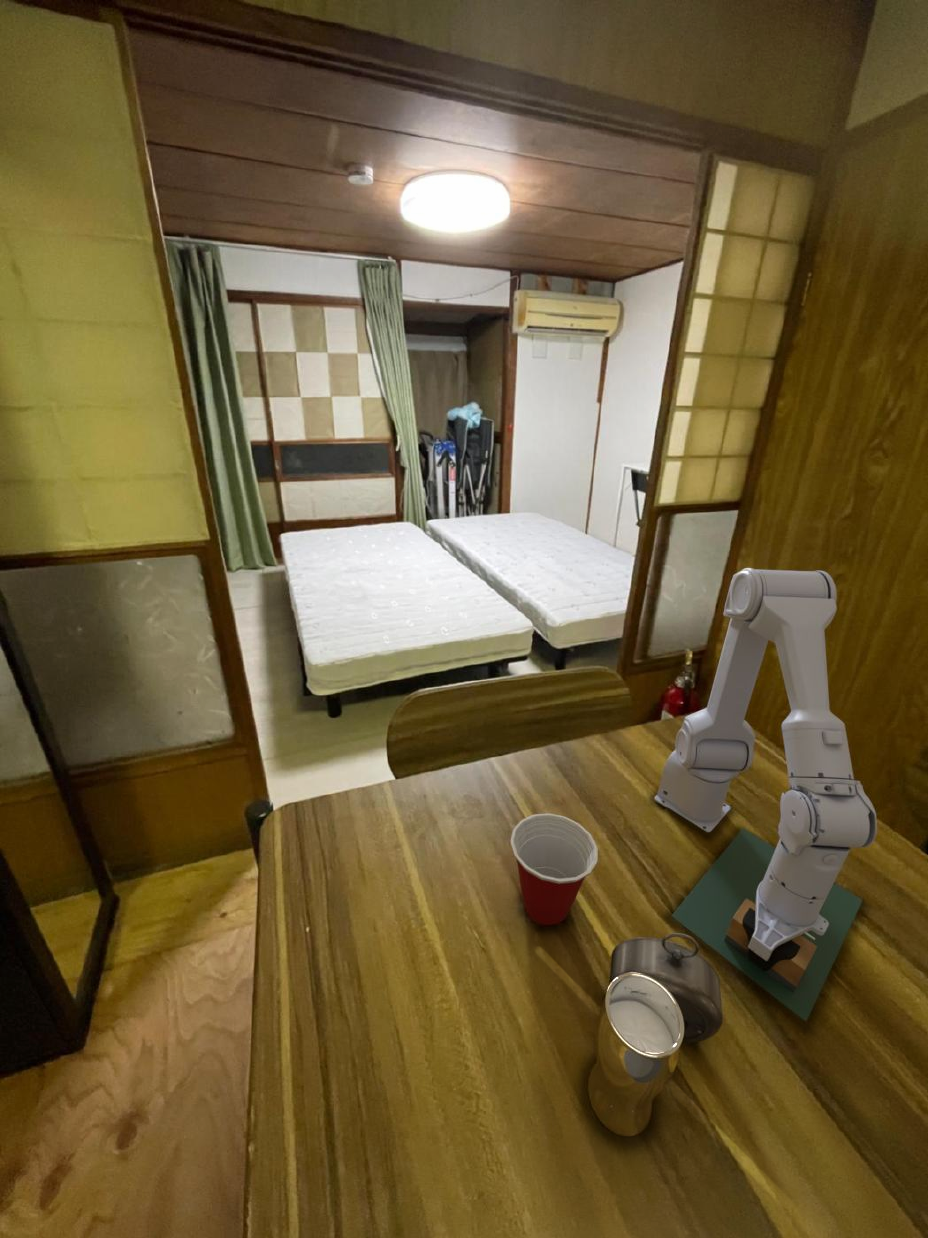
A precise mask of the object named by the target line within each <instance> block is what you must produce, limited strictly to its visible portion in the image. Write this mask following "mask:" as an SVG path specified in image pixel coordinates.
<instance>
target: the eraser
mask: <svg viewBox="0 0 928 1238" xmlns="http://www.w3.org/2000/svg"><path fill="white" fill-rule="evenodd" d="M749 908H751V909H753V910H754V911H756V904H754V903H753V902H752V901H750V900H749V899H747V898H746V899H745V901H744V902H743V904H742V905H741V907H740V908H739V910H738V911H737V912H736V914H735V915H734V917H733V919H732V921H731V924H730V926H729V929H728V932H727V934H726V937H725V939H724V941H726V942H727V943H728V944H730V945H731V946H732V947H733V948H735V949H736V950H737V951H739V952H740V953H741V954H743V955H744V956H745V957H747V958H748V937H747V934H746V931H745V929H744V928H743V926H742V921H743V917H744V915H745V914H746V912H747V911H748V909H749ZM791 940H792V941H794V942H795V943H796V944H798V945H799V946H801V947H800V949H799V951H798V953H797V955H796V956H795V957H794V958H793V959H791V960H781V961H779V962H777V963H776V964H775V965H774V966H773V967H772V968H771V969H769V970H768V971H765V972H766V973H768V974H769V975H770V976H772V977H773V978H774V979H776V980H777V981H778V982H779V983H781V984H782V985H783V986H785V987H786V988H787V989H789V990H790V991H791V992H793V993H794V991H795V989H796V987H797V985H798V983H799V981H800V979H801V977H802V976H803V974H804V972H805V970H806V968H807V966H808V964H809V962H810V960H811V958H812V956H813V954H814V952H815V950H816V948H817V946H816V945H814V944H813V943H811V942H810V941H808V940H807V939H806V938H804V937H803V936H801V935H799V936H797V937H795V938H793V939H791ZM748 959H749V958H748Z"/></svg>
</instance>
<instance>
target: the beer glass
mask: <svg viewBox="0 0 928 1238" xmlns="http://www.w3.org/2000/svg"><path fill="white" fill-rule="evenodd" d="M606 989H607V990H606V993H605V996H604V998H603V1000H602V1003H601V1006H600V1008H599V1009H600V1010H599V1013H598V1016H597V1021H596V1027H595V1054H596V1055H595V1057H596V1063H595V1064H594V1065H593V1066H592V1068H591V1070H590V1073H589V1076H588V1080H587V1092H588V1098H589V1099H588V1100H589V1103H590V1106H591V1107H592V1110H593V1112H594V1114H595V1116H596V1118H597V1120H599V1121H600V1123H601V1124H602V1125H603V1126H604V1127H605V1128H606V1129H608V1130H609V1131H610V1132H612V1133H614V1134H615V1135H619V1136H622V1137H634V1136H637V1135H639V1134H640V1133H642V1132H643V1131H644V1130H645V1129H646V1127H648V1124H649V1122H650V1119H651V1117H652V1116H651V1114H652V1107H653V1105H652V1104H653V1100H654V1099H655V1098H656V1097H657V1096H658V1095H659V1094H660V1093H661V1092H662V1091H663V1090H664V1089H665V1087H666V1086H667V1085H668V1084H669V1082H670V1080H671V1078H672V1076H673V1074H674V1071H676V1067H677V1064H678V1061H679V1057H680V1052H681V1048H682V1044H683V1042H682V1040H683V1037H684V1020H683V1016H682V1012H681V1010H680V1007H679V1005H678V1003H677V1002H676V1000H675V998H674V997H673V995H672V994H671V993H670V992H669V991H668V990H667V988H666V987H664V986H663V985H662V984H661V983H660V982H658V981H657V980H655V979H654V978H652V977H650V976H647V975H645V974H641V973H634V972H631V973H625V974H622V975H620V976H618V977H616V978H615V979H614V980H613V981H612V982H611V984H610V985H609V984H608V987H607V988H606Z"/></svg>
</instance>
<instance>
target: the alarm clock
mask: <svg viewBox="0 0 928 1238" xmlns="http://www.w3.org/2000/svg"><path fill="white" fill-rule="evenodd" d="M676 937H678V938H683V939H687V940H689V941H690V942H692V944H694V946H695V950H693V949H691V948H689V947H687V946H685V945H683V944H680V943H677V942H674V941H671V940H668V939H671V938H676ZM699 952H700V945H699V943H698V941H697V940H696V939H695V938H694V937H692V936H691V935H688V934H686V933H681V932H671V933H667V934H666V935H664V936H663V937H662V938H657V937H648V936H647V937H646V936H645V937H640V936H639V937H633V938H632V937H631V938H629V939H626V940H623V941H621V942H620V943H619V944H617V945H616V946H615V947H614V949H613V950H612V952H611V955H610V968H609V969H610V971H609V980H608V981H609V982H608V986H609V985H610V984H611V982H612V981H613V980H614V979H615V978H616V977H618V976H620V975H622V974H625V973H631V972H634V973H641V974H645V975H647V976H650V977H652V978H654V979H655V980H657V981H658V982H660V983H661V984H662V985H663V986H664V987H666V988H667V990H668V991H669V992H670V993H671V994H672V995H673V997H674V998H675V1000H676V1002H677V1003H678V1005H679V1007H680V1010H681V1012H682V1016H683V1020H684V1037H683V1040H682V1043H698V1042H702V1041H705V1040H708V1039H710V1038H712V1037H713V1036H715V1035H716V1034H717V1033H718V1032H719V1030H720V1029H721V1027H722V1024H723V1017H724V1016H723V1015H724V1014H723V1005H722V993H721V992H722V991H721V980H720V977H719V974H718V973H717V970H716V969H715V968H714V967H713V966H712V964H711V963H710V962H709V961H708V960H707V959H706V958H705V957H703V956H702V955H700V954H699Z"/></svg>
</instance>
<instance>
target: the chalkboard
mask: <svg viewBox="0 0 928 1238" xmlns="http://www.w3.org/2000/svg"><path fill="white" fill-rule="evenodd" d="M775 849H776V847H775V846H773V845H771V844H770V843H768V842H767V841H765V840H763V839H762V838H760V837H758V836H757V835H755V834H753V833H752V832H751V831H749V830H747V829H745V828H743V827H742V828H741V830H739V832H738V834H737V835H736V836H735V837H734V838H733V839H732V841H731V842H730V843H729V844H728V845H727V847H726V848H725V849H724V850H723V852H722V853H721V854H720V856H719V857H718V858H717V859H716V860H715V862H714V863H713V864H711V866H710V868H709V869H708V870H707V871H706V873H705V874H704V875H703V877H701V879H700V880H699V882H697V884H696V885H695V886H694V888H693V889H692V890H691V891H690V892H689V894H687V896H686V897H685V898H684V900H683V901H682V902H681V904H680V905H679V906H678V908H676V910H675V911H674V912H673V914H672V915H671V917H672V918H673V919H674V920H675V921H676V922H677V923H679V924H681V925H682V926H683V927H684V928H686V929H687V930H689V931H690V933H692V934H693V935H695V936H696V937H697V938H699V940H701V941H702V942H704V943H705V944H706V945H707V946H709V947H710V948H711V949H712V950H713V951H715V952H716V953H718V954H719V955H720V956H722V957H723V958H724V959H725V960H727V961H728V962H729V963H730V964H731V965H733V966H734V967H736V968H737V969H738V971H741V972H742V973H743V974H744V975H745V976H747V977H748V978H749V979H751V980H752V981H753V982H754V983H756V984H757V985H758V986H760V987H761V988H762V989H764V991H766V992H767V993H769V994H770V995H771V996H773V997H774V998H775V999H777V1000H778V1001H779V1002H780V1003H781V1004H783V1006H785V1007H786V1008H788V1009H789V1010H790V1011H792V1012H793V1013H794V1014H795V1015H797V1016H798V1017H799V1018H800V1019H802V1021H805V1022H807V1021H808V1020H809V1019H808V1018H809V1016H810V1014H811V1012H812V1010H813V1008H814V1006H815V1004H816V1001H817V999H818V997H819V996H820V993H821V991H822V989H823V987H824V984H825V983H826V980H827V978H828V976H829V974H830V972H831V969H832V967H833V965H834V963H835V961H836V959H837V957H838V955H839V953H840V950H841V948H842V947H843V944H844V942H845V940H846V937H847V936H848V933H849V931H850V929H851V927H852V925H853V923H854V921H855V918H856V916H857V914H858V912H859V910H860V908H861V905H862V904H863V901H864V900H863V899H862V898H860V897H858V896H857V895H855V894H853V893H852V892H850V891H849V890H847V889H845V888H843V887H841V886H840V885H838V884H836V883H835V882H834V884H833V886H832V888H831V890H830V892H829V894H828V896H827V898H826V900H825V902H824V904H823V906H822V908H821V910H820V912H819V914H820V915H821V916H822V917H823V918H825V919H826V920H827V921H828V923H829V925H828V927H827V929H826V931H825V933H824V935H818V934H816V933H815V932H813V931H807V932H805V933H803V934H801V936H803V937H804V938H806V939H807V940H808V941H810V942H811V943H813V944H814V945H816V946H817V948H816V950H815V952H814V954H813V956H812V958H811V960H810V962H809V964H808V966H807V968H806V970H805V972H804V974H803V976H802V977H801V979H800V981H799V983H798V985H797V987H796V989H795V991H794V993H793V992H791V991H790V990H789V989H787V988H786V987H785V986H783V985H782V984H781V983H779V982H778V981H777V980H776V979H774V978H773V977H772V976H770V975H769V974H768V973H766V972H765V971H763V970H762V969H761V968H759V967H758V966H757V965H756V964H754V963H753V962H752V961H750V960H749V959H748V958H747V957H745V956H744V955H743V954H741V953H740V952H739V951H737V950H736V949H735V948H733V947H732V946H731V945H730V944H728V943H727V942H726V941H724V939H725V937H726V934H727V932H728V929H729V926H730V924H731V921H732V919H733V917H734V915H735V914H736V912H737V911H738V910H739V908H740V907H741V905H742V904H743V902H744V901H745V899H746V898H747V899H749V900H750V901H752V902H753V903H754V904H756V891H757V888H758V886H759V884H760V883H761V882H762V881H763V879H764V876H765V874H766V871H767V869H768V866H769V864H770V861H771V859H772V857H773V854H774V852H775Z"/></svg>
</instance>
